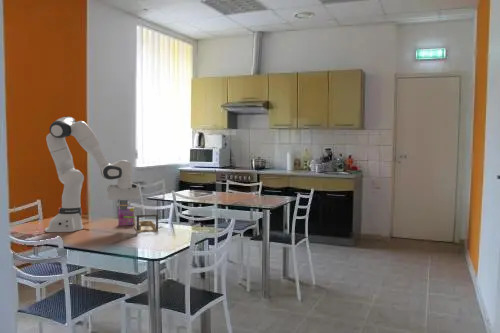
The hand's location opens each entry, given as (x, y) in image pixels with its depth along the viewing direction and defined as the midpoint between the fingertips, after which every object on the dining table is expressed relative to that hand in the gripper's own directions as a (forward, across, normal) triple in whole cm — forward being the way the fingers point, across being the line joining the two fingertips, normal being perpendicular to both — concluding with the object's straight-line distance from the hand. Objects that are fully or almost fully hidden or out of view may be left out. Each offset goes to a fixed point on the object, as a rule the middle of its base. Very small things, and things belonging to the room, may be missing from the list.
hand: (123, 206), depth 282 cm
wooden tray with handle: (+14, +14, -5) cm, 21 cm away
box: (+15, +4, +15) cm, 21 cm away
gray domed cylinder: (+2, 0, 0) cm, 2 cm away
